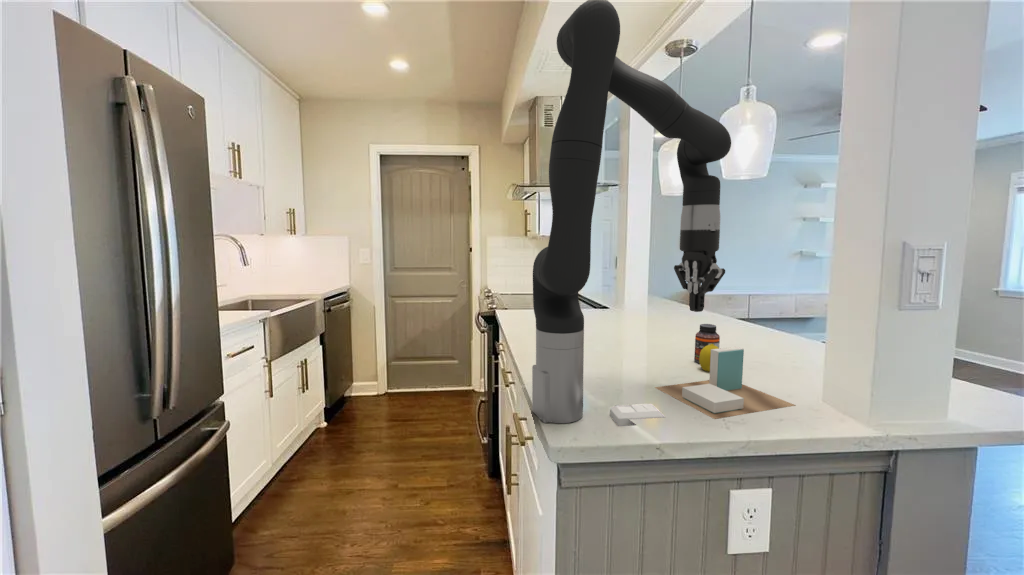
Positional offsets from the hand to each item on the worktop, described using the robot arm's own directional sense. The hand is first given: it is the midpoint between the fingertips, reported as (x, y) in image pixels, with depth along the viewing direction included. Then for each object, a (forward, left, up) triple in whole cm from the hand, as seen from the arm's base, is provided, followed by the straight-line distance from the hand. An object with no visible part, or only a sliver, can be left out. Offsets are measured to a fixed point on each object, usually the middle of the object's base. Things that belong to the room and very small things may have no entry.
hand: (696, 311), depth 92 cm
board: (+4, -3, -19) cm, 20 cm away
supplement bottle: (+19, +18, -19) cm, 32 cm away
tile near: (-1, -2, -17) cm, 17 cm away
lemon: (+15, +12, -19) cm, 27 cm away
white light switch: (-18, -5, -20) cm, 27 cm away
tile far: (+8, 0, -18) cm, 20 cm away
